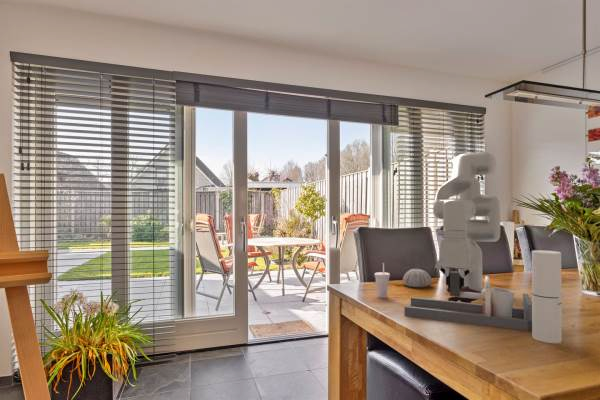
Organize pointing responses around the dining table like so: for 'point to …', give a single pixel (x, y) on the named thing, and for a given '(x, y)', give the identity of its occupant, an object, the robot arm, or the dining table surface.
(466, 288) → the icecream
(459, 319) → the grey walled channel
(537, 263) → the cylindrical container
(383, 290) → the smoothie
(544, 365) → the dining table surface
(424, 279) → the sea urchin shell
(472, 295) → the foosball rod
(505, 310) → the drinking glass
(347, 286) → the dining table surface
